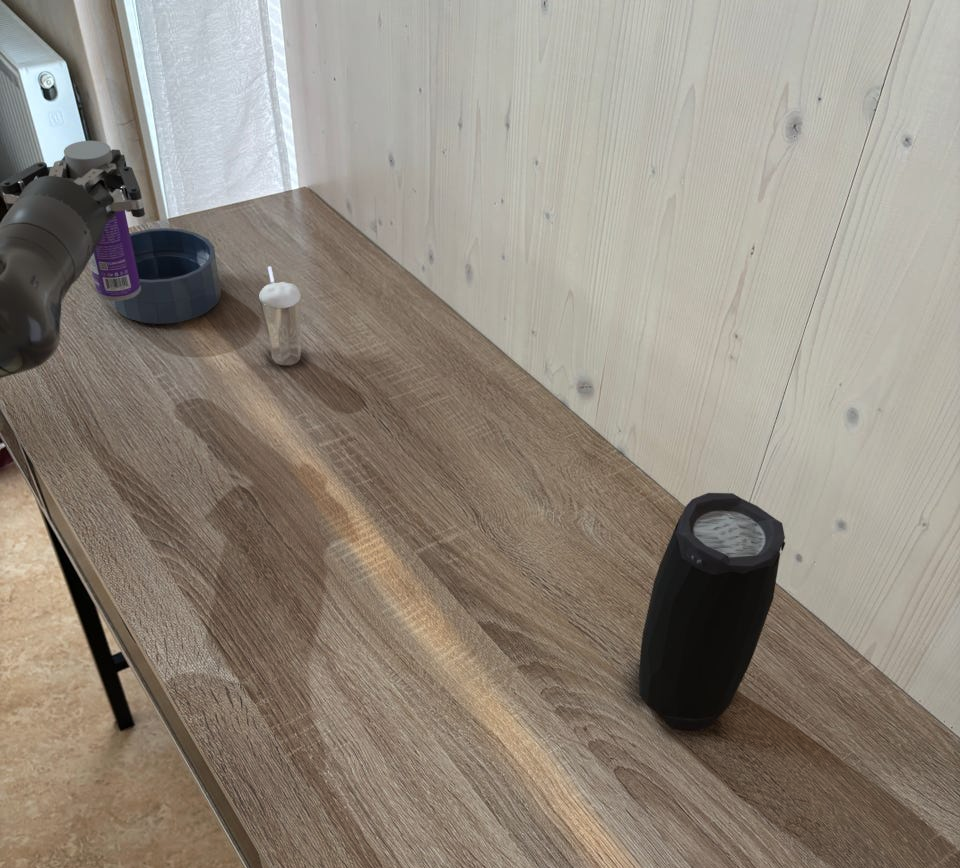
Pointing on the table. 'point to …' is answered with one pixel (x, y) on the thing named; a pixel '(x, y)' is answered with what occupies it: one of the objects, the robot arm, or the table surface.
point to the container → (107, 231)
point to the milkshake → (282, 320)
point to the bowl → (172, 277)
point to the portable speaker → (708, 608)
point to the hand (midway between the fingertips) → (99, 158)
